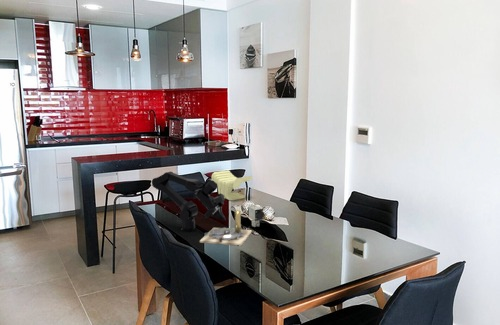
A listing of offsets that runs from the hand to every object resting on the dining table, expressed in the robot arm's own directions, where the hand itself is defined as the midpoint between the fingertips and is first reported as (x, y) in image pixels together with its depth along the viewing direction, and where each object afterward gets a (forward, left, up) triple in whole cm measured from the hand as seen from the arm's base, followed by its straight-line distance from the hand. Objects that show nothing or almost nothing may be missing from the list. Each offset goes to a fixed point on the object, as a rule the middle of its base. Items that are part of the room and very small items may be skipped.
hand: (225, 220), depth 218 cm
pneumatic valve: (+14, +16, -7) cm, 22 cm away
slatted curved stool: (-19, +79, -7) cm, 82 cm away
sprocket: (+3, -6, -6) cm, 9 cm away
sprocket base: (+3, -6, -7) cm, 10 cm away
